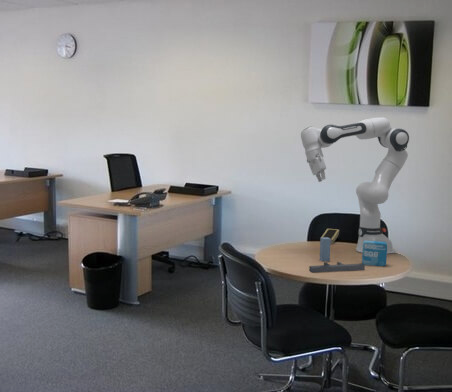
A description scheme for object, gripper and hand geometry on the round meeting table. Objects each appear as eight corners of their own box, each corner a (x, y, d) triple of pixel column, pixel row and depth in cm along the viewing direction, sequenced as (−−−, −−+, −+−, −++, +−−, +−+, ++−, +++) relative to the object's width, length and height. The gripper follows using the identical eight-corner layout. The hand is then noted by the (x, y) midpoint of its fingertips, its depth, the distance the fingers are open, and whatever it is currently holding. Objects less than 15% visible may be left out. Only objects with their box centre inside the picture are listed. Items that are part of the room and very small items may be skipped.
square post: (326, 259, 284) (327, 237, 282) (329, 261, 280) (330, 238, 278) (319, 259, 283) (320, 237, 281) (322, 261, 279) (323, 239, 277)
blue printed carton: (361, 264, 274) (363, 241, 273) (361, 262, 278) (363, 240, 277) (386, 266, 271) (387, 243, 269) (385, 264, 275) (387, 241, 274)
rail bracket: (357, 265, 271) (357, 261, 271) (364, 270, 264) (364, 265, 263) (305, 268, 265) (305, 263, 265) (311, 272, 257) (311, 267, 257)
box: (339, 236, 337) (339, 229, 336) (332, 249, 317) (332, 241, 316) (326, 235, 340) (326, 228, 339) (318, 248, 321) (318, 240, 319)
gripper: (324, 151, 281) (331, 176, 280) (316, 157, 301) (324, 181, 300) (312, 154, 281) (320, 179, 279) (306, 160, 301) (313, 184, 300)
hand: (322, 180), depth 290 cm, fingers open, 8 cm apart
